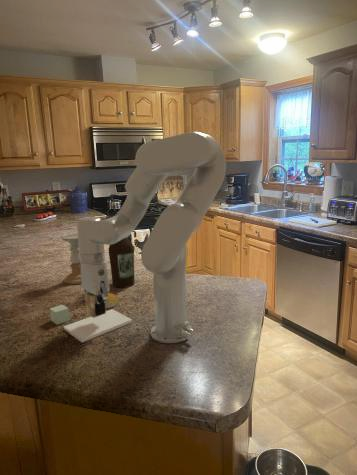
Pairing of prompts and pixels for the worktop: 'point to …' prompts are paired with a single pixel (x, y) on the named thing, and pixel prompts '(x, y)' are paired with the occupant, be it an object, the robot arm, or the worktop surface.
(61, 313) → the sage cube
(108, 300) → the bread roll
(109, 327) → the ceramic tile
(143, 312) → the worktop surface
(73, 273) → the candle holder
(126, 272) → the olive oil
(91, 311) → the maple block
